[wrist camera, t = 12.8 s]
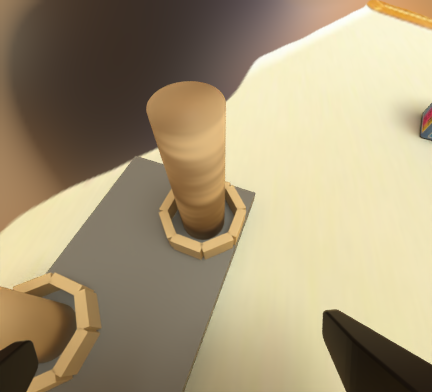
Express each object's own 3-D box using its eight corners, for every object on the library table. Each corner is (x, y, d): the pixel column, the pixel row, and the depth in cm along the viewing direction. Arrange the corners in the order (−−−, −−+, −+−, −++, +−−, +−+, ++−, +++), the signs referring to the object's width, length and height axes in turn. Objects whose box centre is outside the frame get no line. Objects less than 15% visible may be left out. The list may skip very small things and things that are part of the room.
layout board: (253, 200, 26) (282, 68, 14) (155, 469, 15) (-129, 991, 3) (138, 163, 29) (76, 30, 17) (-11, 364, 18) (-479, 401, 6)
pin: (230, 210, 23) (236, 89, 12) (215, 245, 21) (207, 140, 11) (193, 197, 24) (169, 75, 13) (176, 231, 22) (131, 120, 11)
